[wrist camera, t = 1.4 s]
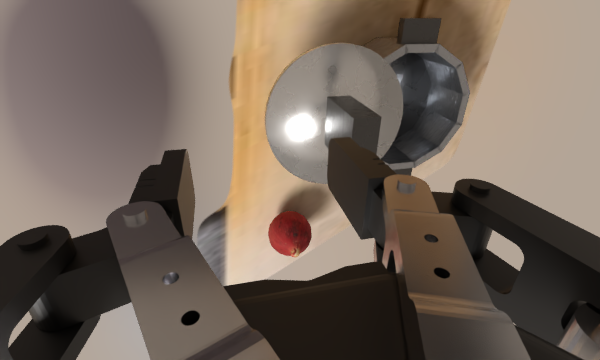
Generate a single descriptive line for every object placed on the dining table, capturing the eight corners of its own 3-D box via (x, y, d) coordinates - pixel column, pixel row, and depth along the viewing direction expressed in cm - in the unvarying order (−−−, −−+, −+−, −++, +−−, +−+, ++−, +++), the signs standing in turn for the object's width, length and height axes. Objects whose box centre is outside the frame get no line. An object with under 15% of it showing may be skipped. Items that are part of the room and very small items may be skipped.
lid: (261, 43, 29) (276, 55, 22) (410, 41, 32) (461, 52, 26) (267, 186, 36) (279, 228, 29) (389, 174, 39) (425, 209, 32)
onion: (269, 199, 46) (279, 233, 39) (308, 202, 47) (324, 235, 41) (261, 233, 48) (270, 271, 41) (299, 234, 50) (313, 271, 43)
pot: (335, 15, 36) (359, 18, 30) (446, 16, 39) (488, 19, 33) (326, 166, 45) (344, 191, 39) (418, 157, 48) (447, 179, 42)
